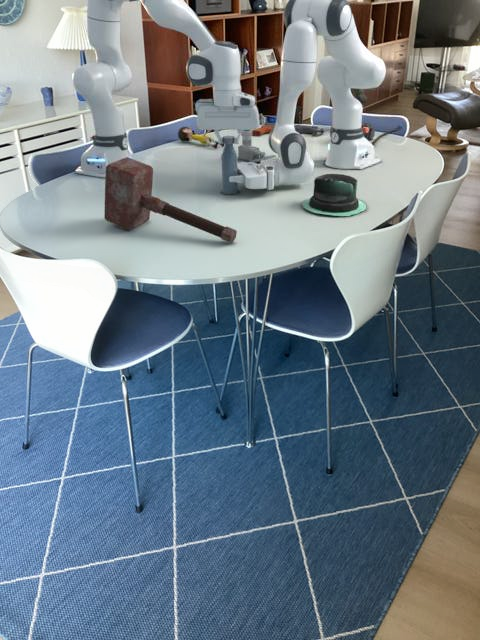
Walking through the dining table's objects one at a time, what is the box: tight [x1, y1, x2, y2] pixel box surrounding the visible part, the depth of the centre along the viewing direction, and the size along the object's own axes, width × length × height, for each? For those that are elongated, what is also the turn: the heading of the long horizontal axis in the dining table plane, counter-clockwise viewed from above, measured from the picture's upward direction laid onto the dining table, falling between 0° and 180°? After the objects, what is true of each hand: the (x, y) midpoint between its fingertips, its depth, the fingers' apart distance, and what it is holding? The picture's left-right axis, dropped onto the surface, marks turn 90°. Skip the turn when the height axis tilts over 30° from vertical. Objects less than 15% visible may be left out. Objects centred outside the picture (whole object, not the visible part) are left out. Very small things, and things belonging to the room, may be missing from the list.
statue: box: [350, 88, 368, 108], centre depth 262 cm, size 11×9×30 cm
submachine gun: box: [252, 122, 325, 137], centre depth 263 cm, size 32×3×25 cm
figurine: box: [177, 126, 225, 150], centre depth 251 cm, size 13×8×25 cm
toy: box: [361, 122, 376, 142], centre depth 244 cm, size 9×9×15 cm
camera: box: [237, 130, 277, 163], centre depth 222 cm, size 9×12×15 cm
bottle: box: [220, 144, 239, 195], centre depth 186 cm, size 5×5×18 cm
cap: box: [222, 135, 236, 145], centre depth 182 cm, size 4×4×2 cm
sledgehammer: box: [103, 157, 238, 244], centre depth 155 cm, size 17×10×40 cm
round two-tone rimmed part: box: [301, 173, 367, 217], centre depth 174 cm, size 15×19×20 cm
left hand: (228, 143), depth 182 cm, fingers closed on cap, 4 cm apart
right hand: (227, 176), depth 187 cm, fingers closed on bottle, 5 cm apart
